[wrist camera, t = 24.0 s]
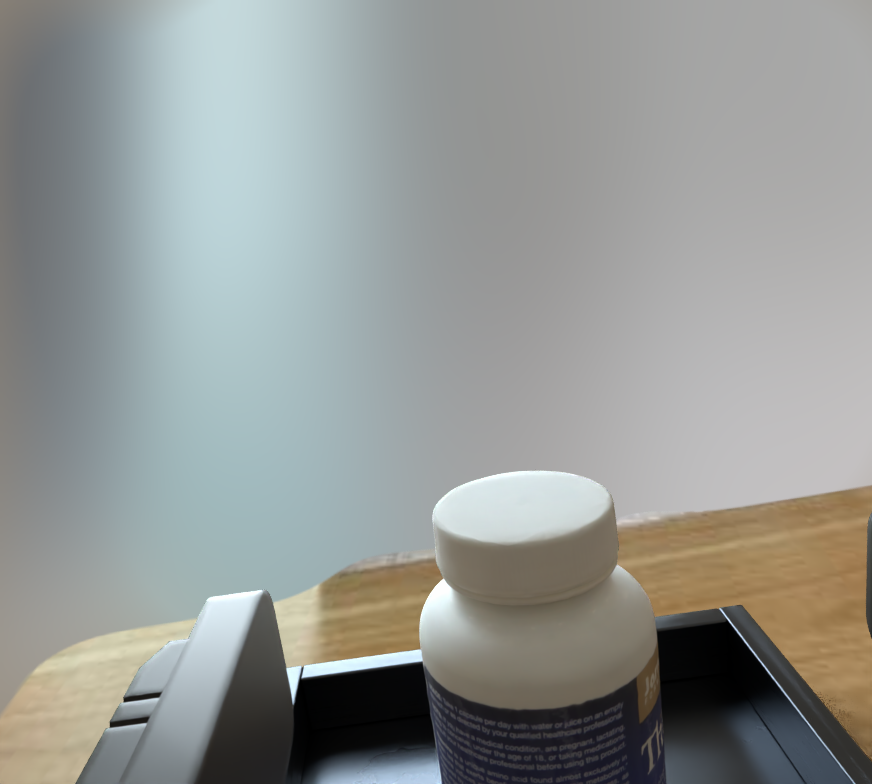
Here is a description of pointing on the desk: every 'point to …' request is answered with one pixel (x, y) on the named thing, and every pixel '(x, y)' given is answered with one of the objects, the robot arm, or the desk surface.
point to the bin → (680, 702)
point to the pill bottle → (539, 639)
